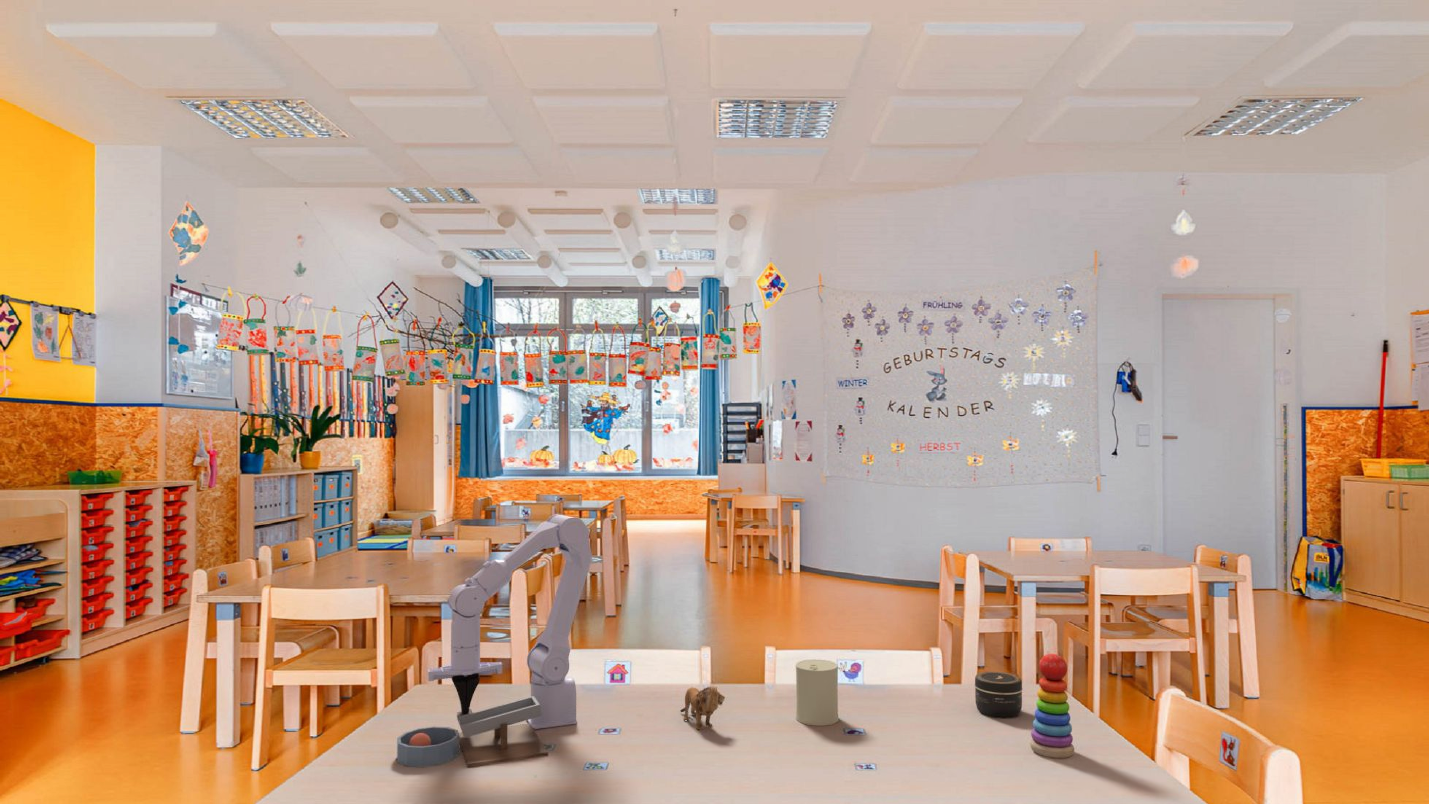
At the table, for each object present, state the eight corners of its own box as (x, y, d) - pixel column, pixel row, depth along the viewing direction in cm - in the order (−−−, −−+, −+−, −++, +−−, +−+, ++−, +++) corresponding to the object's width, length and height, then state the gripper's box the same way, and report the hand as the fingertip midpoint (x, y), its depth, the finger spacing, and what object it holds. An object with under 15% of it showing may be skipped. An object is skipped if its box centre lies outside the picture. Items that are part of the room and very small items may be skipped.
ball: (409, 753, 168) (431, 748, 169) (410, 760, 164) (433, 755, 165) (407, 733, 167) (428, 727, 169) (408, 739, 164) (430, 734, 165)
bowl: (455, 741, 174) (455, 723, 174) (461, 761, 164) (461, 742, 164) (395, 749, 170) (395, 731, 170) (398, 770, 160) (399, 750, 160)
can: (790, 722, 185) (790, 665, 185) (802, 709, 194) (802, 655, 194) (832, 728, 182) (832, 670, 182) (843, 714, 190) (842, 659, 191)
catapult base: (529, 725, 183) (530, 700, 184) (547, 755, 167) (548, 727, 167) (456, 735, 178) (456, 709, 178) (467, 767, 161) (467, 738, 161)
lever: (529, 698, 184) (528, 687, 184) (541, 715, 173) (539, 704, 172) (457, 718, 178) (455, 707, 178) (464, 737, 167) (462, 726, 167)
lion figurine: (728, 730, 181) (728, 686, 181) (706, 735, 178) (706, 691, 178) (690, 711, 193) (690, 670, 193) (669, 716, 190) (669, 674, 190)
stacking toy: (1054, 762, 162) (1052, 661, 163) (1021, 748, 170) (1019, 651, 170) (1083, 755, 166) (1081, 656, 167) (1050, 741, 173) (1048, 647, 174)
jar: (1018, 706, 196) (1018, 671, 196) (1026, 720, 186) (1026, 684, 186) (972, 703, 197) (972, 669, 198) (978, 718, 188) (977, 682, 188)
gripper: (430, 653, 171) (429, 722, 170) (504, 645, 176) (504, 713, 176) (427, 644, 177) (426, 712, 177) (499, 638, 183) (498, 703, 182)
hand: (465, 712), depth 177 cm, fingers closed
